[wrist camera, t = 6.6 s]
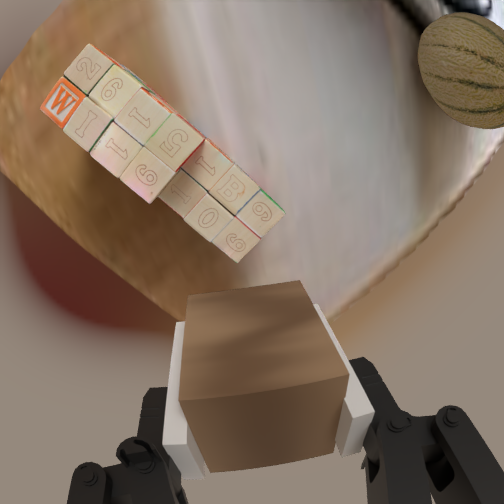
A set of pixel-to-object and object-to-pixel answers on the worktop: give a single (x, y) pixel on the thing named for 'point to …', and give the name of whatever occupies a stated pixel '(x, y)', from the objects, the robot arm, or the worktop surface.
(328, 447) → the walnut block
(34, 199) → the worktop surface
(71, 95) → the stack of blocks
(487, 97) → the cantaloupe
